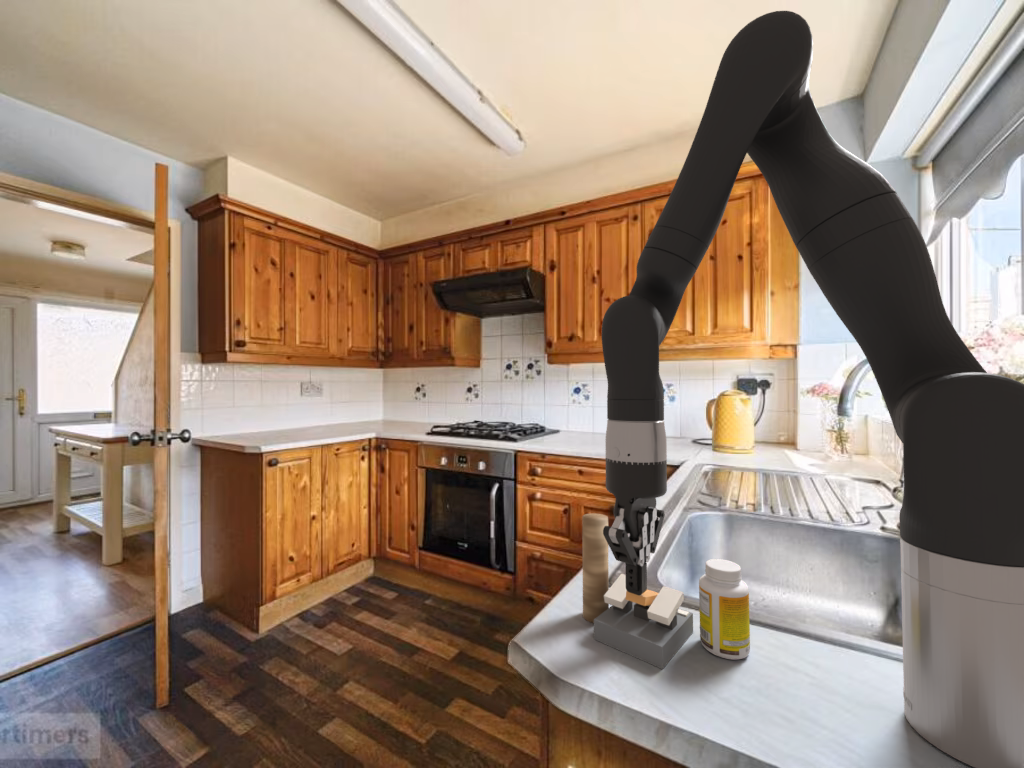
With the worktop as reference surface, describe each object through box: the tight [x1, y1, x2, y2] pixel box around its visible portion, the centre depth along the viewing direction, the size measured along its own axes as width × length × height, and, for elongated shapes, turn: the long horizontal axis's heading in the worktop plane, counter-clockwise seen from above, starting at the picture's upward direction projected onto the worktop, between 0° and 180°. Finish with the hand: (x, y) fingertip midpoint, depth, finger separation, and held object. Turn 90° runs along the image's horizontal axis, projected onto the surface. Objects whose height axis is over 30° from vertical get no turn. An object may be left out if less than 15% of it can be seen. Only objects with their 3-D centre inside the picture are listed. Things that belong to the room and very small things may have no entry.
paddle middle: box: [626, 588, 659, 607], centre depth 56 cm, size 3×5×2 cm, turn 138°
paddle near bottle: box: [647, 585, 685, 626], centre depth 54 cm, size 3×5×2 cm, turn 138°
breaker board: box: [593, 601, 694, 670], centre depth 56 cm, size 9×10×4 cm
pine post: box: [581, 513, 610, 624], centre depth 60 cm, size 4×4×14 cm
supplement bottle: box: [698, 558, 751, 661], centre depth 53 cm, size 6×6×10 cm
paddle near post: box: [604, 573, 629, 609], centre depth 58 cm, size 3×5×1 cm, turn 138°
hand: (636, 591), depth 54 cm, fingers closed
